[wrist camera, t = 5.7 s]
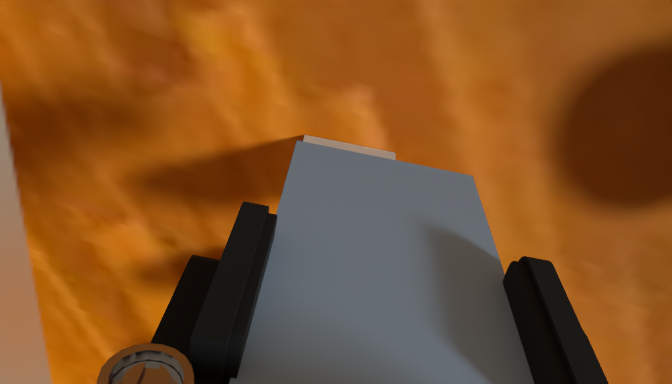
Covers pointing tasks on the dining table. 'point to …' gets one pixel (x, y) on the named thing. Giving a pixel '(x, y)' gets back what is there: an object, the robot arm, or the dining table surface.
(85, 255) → the dining table surface
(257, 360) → the tile
